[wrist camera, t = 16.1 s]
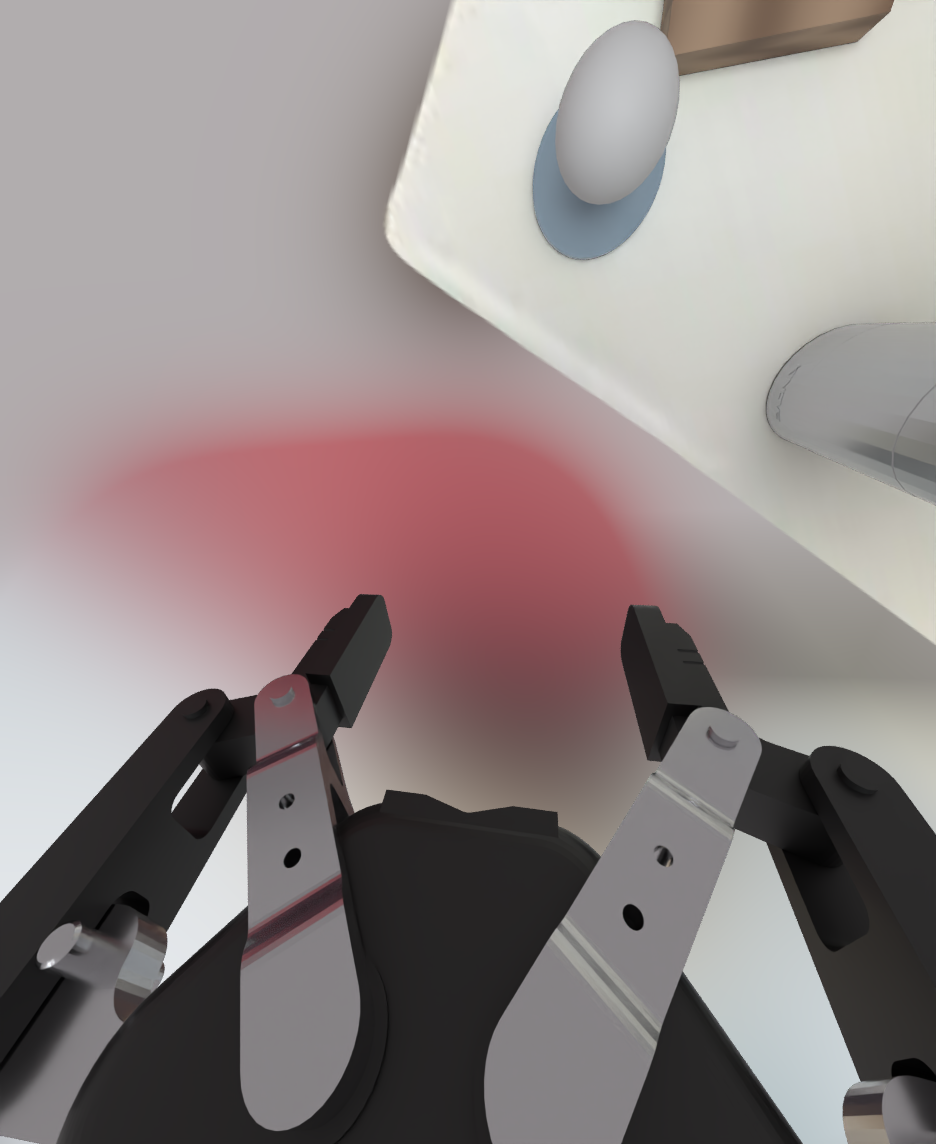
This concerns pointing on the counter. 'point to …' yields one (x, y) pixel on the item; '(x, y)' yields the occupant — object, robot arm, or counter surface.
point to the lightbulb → (617, 112)
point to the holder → (762, 28)
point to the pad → (585, 207)
